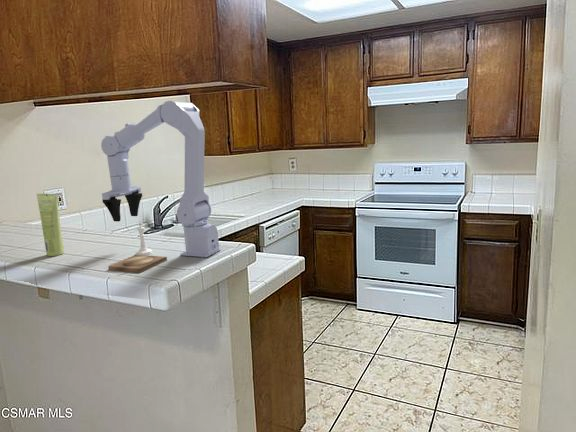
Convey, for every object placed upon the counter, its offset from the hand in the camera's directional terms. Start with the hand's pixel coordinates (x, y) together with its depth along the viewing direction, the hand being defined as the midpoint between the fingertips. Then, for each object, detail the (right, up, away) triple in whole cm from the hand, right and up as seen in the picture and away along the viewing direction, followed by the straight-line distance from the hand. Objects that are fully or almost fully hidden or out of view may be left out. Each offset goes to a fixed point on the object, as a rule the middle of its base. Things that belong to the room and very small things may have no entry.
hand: (125, 218), depth 138 cm
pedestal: (+9, -13, -15) cm, 22 cm away
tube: (-22, -12, +1) cm, 25 cm away
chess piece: (+7, -11, -4) cm, 14 cm away
